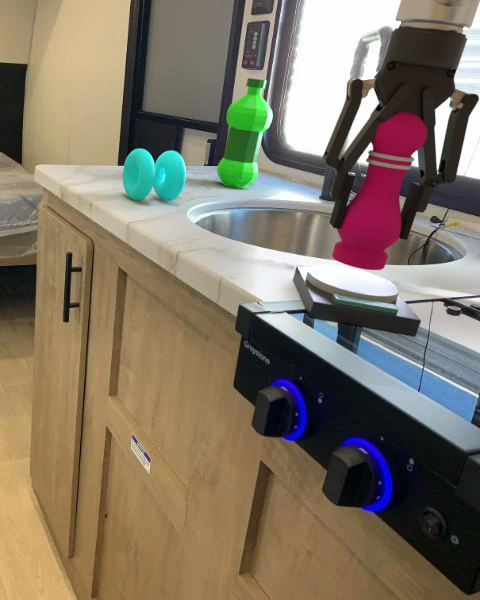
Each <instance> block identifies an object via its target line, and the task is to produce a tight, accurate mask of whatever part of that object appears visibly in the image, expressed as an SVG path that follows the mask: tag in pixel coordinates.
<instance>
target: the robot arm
mask: <svg viewBox="0 0 480 600" xmlns="http://www.w3.org/2000/svg"><path fill="white" fill-rule="evenodd" d="M479 4H480V0H400V3H399V6H398V9H397V13H396V16H395V18H394V21H395V23H396V24H398V25H399V26H398V27H396V28H394V30H393V31H391V32H390V37H389V39H388V42H387V46H386V50H385V54H384V57H383V60H382V63H381V67H380V68H379V70H378V72H377V73H376V74H375V75H374V77H373V78H362V79H361V78H350V79H348V80H347V82H346V95H345V97H346V98H345V101H344V104H343V106H342V108H341V111H340V113H339V116H338V118H337V120H336V123H335V126H334V128H333V131H332V132H331V135H330V137H329V140H328V142H327V145H326V148H325V150H324V152H323V155H322V161H323V163H325V165H327V166H329V167H331V168H333V170H334V173H333V178H332V181H331V185H330V189H329V191H328V192H329V197H330V198H331V199H332V200H335V201H334V205H333V208H332V212H331V215H330V218H329V225H330V226H331V227H332V228H333V229H336V230H337V229H340V226H341V223H342V220H343V216H344V213H345V209H346V206H347V205H348V204H349V203H348V202H349V199H350V195H351V193H352V189H353V185H354V182H355V179H356V175H355V174H353V173H352V172H350V171H351V170H352V169H353V167H354V166H355V165H356V163H357V162H358V161H359V159H360V158H361V157H362V156H363V154H364V152H365V151H366V150H367V148H368V147H369V146H370V145H371V144H372V143H371V141H372V140H373V139H374V137H375V135H376V131H377V129H378V126H379V125H380V123H381V122H385V121H387V120H389V119H390V118H391V116H392V115H393V113H398V112H409V113H413V114H416V115H418V116H420V117H421V118H422V119H423V122H424V124H425V126H426V127H427V137H426V141H425V142H424V144H423V146H422V147H421V148H420V149H418V150H417V151H416V152H417V163H418V178H419V182H416V181H411V182H410V184H409V187H408V190H407V194H406V196H405V199H404V203H403V205H402V209H401V210H400V211H401V219H402V220H401V232H400V236H399V239H400V240H404V241H408V239H409V236H410V233H411V230H412V228H413V225H414V221H415V219H416V215H417V213H424V212H425V211H426V210H427V208H428V205H429V201H430V199H431V197H432V194H433V190H434V189H435V188H437V187H438V186H439V185H442V184H453V183H454V182H455V181H456V179H457V175H458V171H459V170H458V169H459V166H460V160H461V157H462V153H463V146H464V142H465V138H466V134H467V129H468V125H469V119H470V116H471V114H472V113H473V111H474V109H475V108H476V106H477V104H478V103H479V101H480V96H479V95H478V94H476V93H471V92H470V93H469V92H465V91H463V90H460V89H457V88H456V83H455V76H456V73H457V71H458V69H459V66H460V63H461V60H462V57H463V53H464V50H465V48H466V44H467V41H468V38H467V35H466V34H465V33H464V31H465V30H469V29H470V28H471V27H472V26H473V22H474V19H475V17H476V14H477V11H478V8H479ZM372 89H373V90H374V93H375V96H376V99H377V101H378V104H377V105H376V106H375V108H374V109H373V110H372V112H371V114H370V115H369V117H368V118H367V120H366V122H365V123H364V125H363V126H362V127H361V129H360V131H359V132H358V133H357V135H356V136H355V137H354V138H353V140H352V142H351V143H350V144H349V145H348V147H347V148H346V150H345V151H344V152H343V154H342V155H341V156H340V154H341V152H342V151H343V147H344V145H345V143H346V140H347V138H348V136H349V133H350V131H351V129H352V126H353V125H354V122H355V119H356V116H357V114H358V112H359V109H360V107H361V104H362V101H363V99H365V98H367V97H368V95H369V92H370V90H372ZM448 99H449V105H448V108H449V110H450V113H449V116H448V119H447V124H446V130H445V133H444V139H443V144H442V148H441V152H440V157H439V163H438V165H437V146H436V145H437V144H436V130H435V129H436V128H435V127H436V124H437V123H436V122H437V119H436V110H437V109H438V108H440V106H441V105H443V104H444V103H445V102H446V101H447V100H448Z"/></svg>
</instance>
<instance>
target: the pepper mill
mask: <svg viewBox="0 0 480 600" xmlns="http://www.w3.org/2000/svg"><path fill="white" fill-rule="evenodd" d="M426 137H427V127H426V126H425V124H424V122H423V119H422V118H421V117H420V116H418V115H416V114H413V113H409V112H398V113H393V115H392V116H391V118H390V119H389V120H387V121H385V122H381V123H380V125H379V126H378V129H377V131H376V135H375V137H374V139H373V140H372V141H371V143H370V144H371V145H372V149H371V150H370V149H369V150H368V152H367V154H368V156H367V158H366V159H365V162H366V163H368V165H367V170H366V174H365V176H364V178H363V182H362V183H361V186H360V187H359V189H358V190H357V192H356V194H355V195H354V196H353V197H352V199H351V200H350V201H349V203H347V206H346V209H345V213H344V216H343V220H342V223H341V226H340V229H337V228H336V231H337V234H338V236H339V238H340V241H337V242H335V243H334V247H333V250H332V254H331V256H332V259H334V260H335V261H337V262H338V263H341V264H342V265H343V264H344V265H346V266H349V267H351V268H355V269H360V270H368V271H381V270H383V269H385V267H386V264H387V261H388V258H389V254H388V252H386V250H387V249H388V248H390V247H391V246H393V245H394V244H396V243H397V242H398V240H399V239H400V238H399V236H400V232H401V220H402V219H401V211H402V210H401V202H400V198H401V197H400V195H401V188H402V183H403V180H404V178H405V176H406V174H407V171H409V170H411V169H412V168H413V167H412V165H413V162H414V161H415V157H413V155H414V153H415V152H418V151H417V150H418V149H420V148H421V147H422V146H423V144H424V142H425V141H426Z"/></svg>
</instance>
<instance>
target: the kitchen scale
mask: <svg viewBox="0 0 480 600" xmlns="http://www.w3.org/2000/svg"><path fill="white" fill-rule="evenodd" d="M292 280H293V283H294V284H295V287H296V289H297V291H298V294H299V296H300V299H301V301H302V303H303V306H304V308H305V310H306V313H307V315H308V317H309V318H312V319H313V318H314V319H317V320H324V321H329V322H335V323H340V324H346V325H352V326H357V327H364V328H369V329H374V330H375V329H376V330H381V331H386V332H391V333H398V334H403V335H408V336H412V337H413V336H415V337H416V336H417V333H418V331H419V328H420V326H421V323H422V320H421V318H420V317H419V316H418V315H417V314H416V313H415V311H413V310H412V308H411V306H409V305H408V304H407V302H406V301H405V300H404V299H403V298H402V296H401V295H400V288H399V287H398V286H397V285H396V284H395V283H393V282H391V281H390V280H388V279H386V278H385V277H381V276H379V275H377V274H373V273H371V272H368V271H364V270H362V269H358V268H354V267H348V266H344V265H343V266H341V265H334V264H316V265H312V266H309V267H305V266H299V265H297V266H296V268H295V272H294V274H293V278H292Z"/></svg>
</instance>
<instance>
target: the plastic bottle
mask: <svg viewBox="0 0 480 600" xmlns="http://www.w3.org/2000/svg"><path fill="white" fill-rule="evenodd" d="M267 82H268V81H267V80H266V79H259V78H252V77H251V78H250V77H248V78H247V80H246V85H245V87H247V91H246V92H247V93H246V94H244V95H242V96H241V97H240V98H239V97H238V99H236V100H235V101H234V102H232V103H231V104H230V105H229V107H228V108H227V111H226V116H225V117H226V124H227V125H228V127H229V128H228V134H227V138H226V142H225V143H226V144H225V148H224V152H223V157H222V158H221V159H220V161H219V163H218V164H217V167H216V172H217V176H218V177H219V179H220V180H221V182H222V183H223V185H224V186H225V187H229V188H234V189H245V188H246V187H248V186H250V185H251V184H252V183H254V182H255V181H256V179H257V178H258V175H259V165H258V158H259V153H260V148H261V144H262V139H263V135H264V132H265V131H267V130H268V129H269V128H270V125H271V124H272V122H273V121H272V120H273V110H272V108H271V106H270V105H269V104H268V102H267V101H266V99H264V97H263V96H262V92H263V90H265V89H266V85H267Z"/></svg>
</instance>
